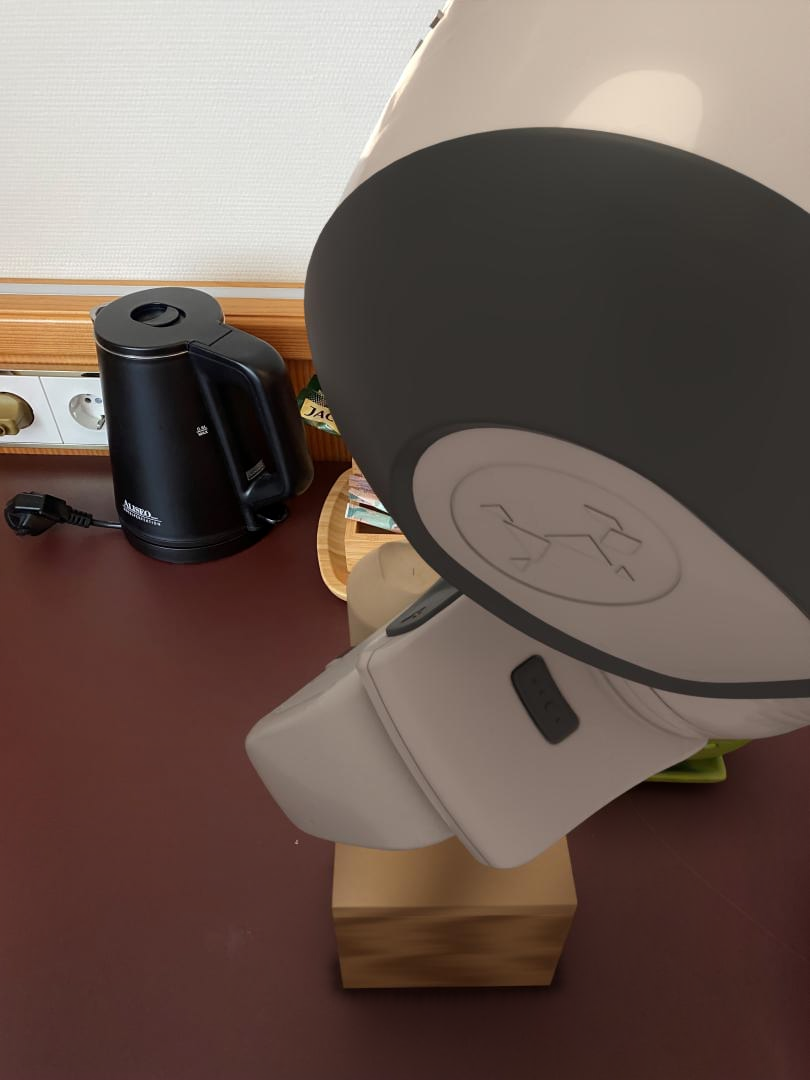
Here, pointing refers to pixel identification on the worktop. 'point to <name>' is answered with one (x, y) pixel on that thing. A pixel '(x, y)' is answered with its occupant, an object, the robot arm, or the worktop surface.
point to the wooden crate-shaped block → (449, 917)
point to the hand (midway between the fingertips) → (402, 629)
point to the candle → (385, 587)
